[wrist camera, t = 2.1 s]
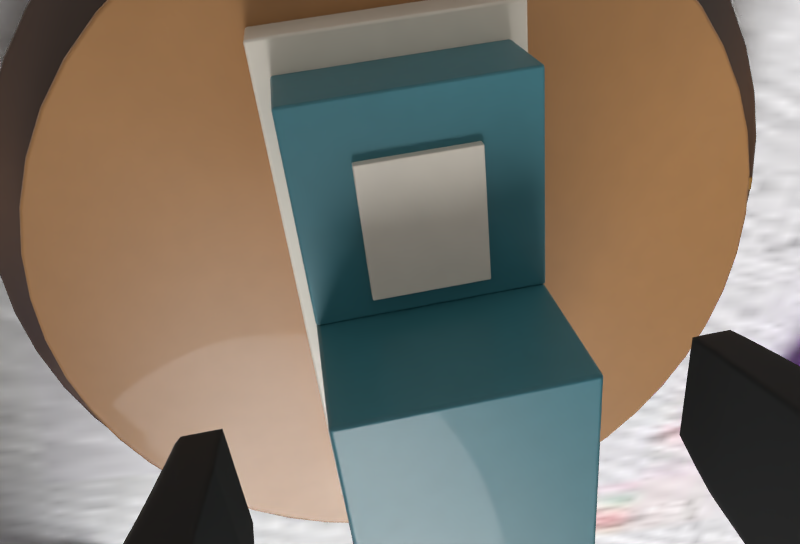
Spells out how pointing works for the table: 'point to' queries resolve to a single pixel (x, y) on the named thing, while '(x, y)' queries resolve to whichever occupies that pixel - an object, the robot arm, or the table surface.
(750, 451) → the robot arm
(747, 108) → the display base
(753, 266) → the table surface
